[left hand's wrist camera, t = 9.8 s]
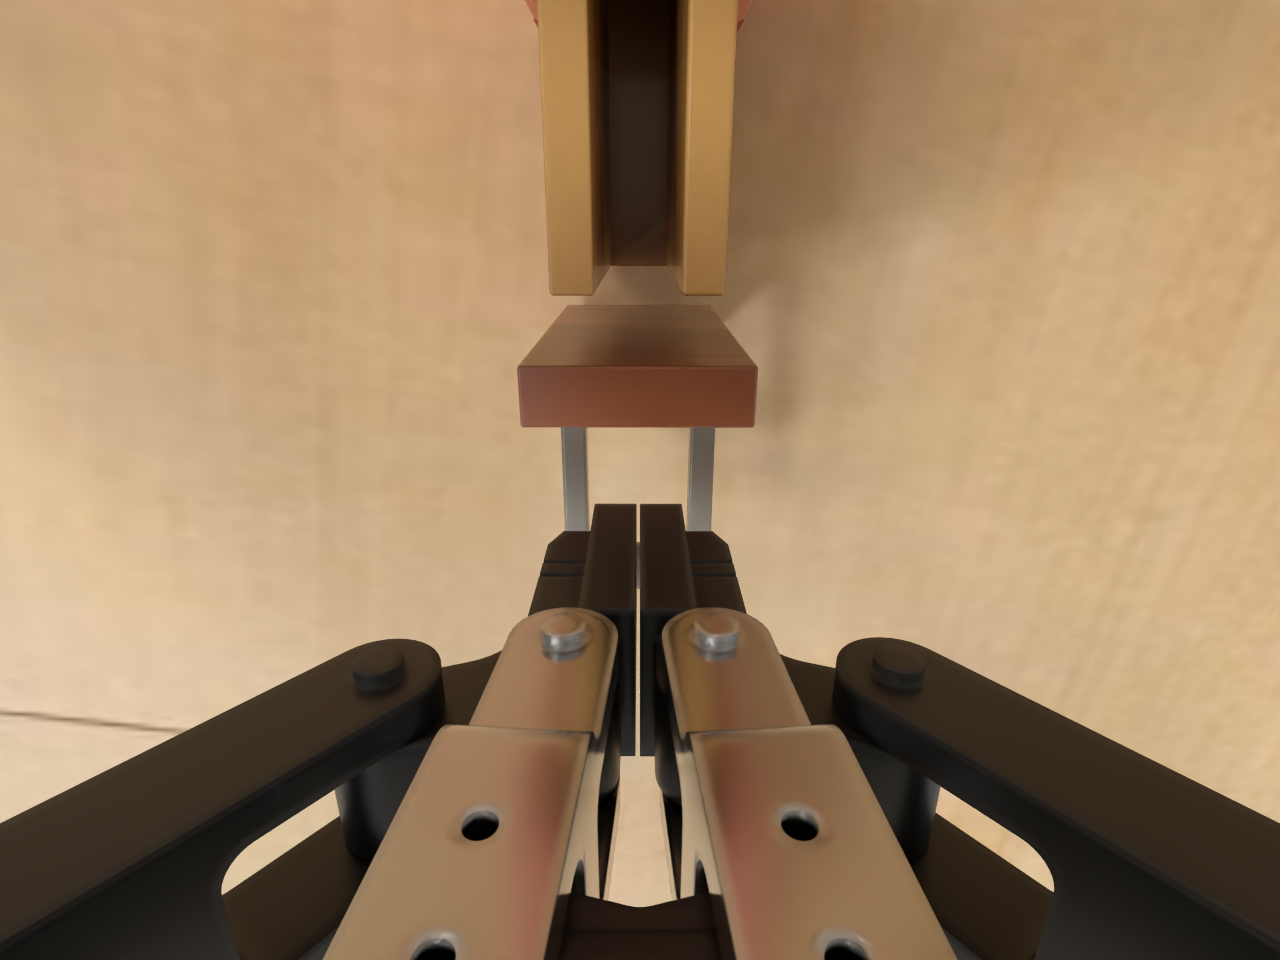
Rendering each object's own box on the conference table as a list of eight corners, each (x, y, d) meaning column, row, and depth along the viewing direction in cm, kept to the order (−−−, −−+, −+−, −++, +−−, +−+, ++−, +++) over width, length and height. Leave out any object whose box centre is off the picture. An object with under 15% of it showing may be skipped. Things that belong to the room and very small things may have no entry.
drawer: (702, 505, 24) (739, 673, 15) (574, 504, 24) (535, 672, 15) (734, -361, 16) (848, -1060, 7) (543, -361, 16) (427, -1061, 7)
